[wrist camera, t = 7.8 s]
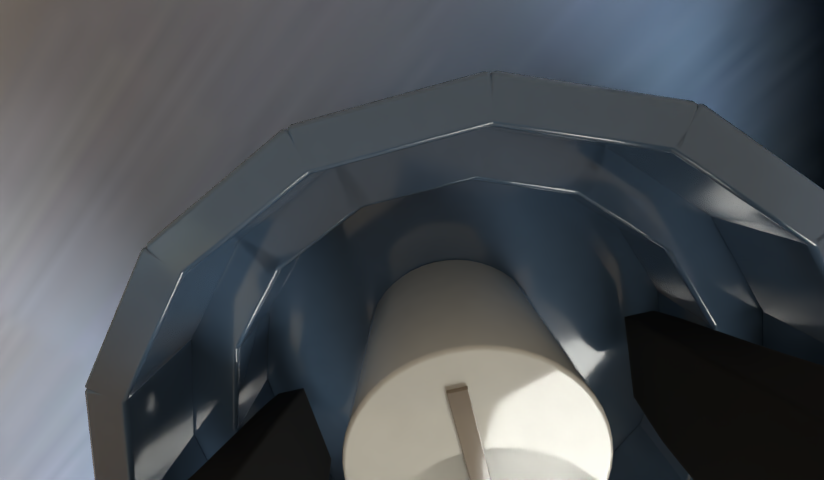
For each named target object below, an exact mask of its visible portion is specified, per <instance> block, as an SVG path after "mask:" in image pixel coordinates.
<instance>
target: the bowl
mask: <svg viewBox="0 0 824 480" xmlns="http://www.w3.org/2000/svg"><path fill="white" fill-rule="evenodd" d="M444 260H468V261H474V262H479V263H482V264H485V265H488V266H491V267H493V268H495V269H497V270H499V271H502V272H503V273H505V274H506V275H508V276H509V277H511V278H512V279H513V280H514V281H515V282H516V283H517V284H518V285H520V287H521V288H522V289H523V290H524V291H525V293H526V294H527V295H528V297H529V298H530V300H531V301H532V303H533V304H534V306H535V307H536V309H537V310H538V312H539V313H540V314H541V316H542V317H543V319H544V320H545V322H546V323H547V325H548V326H549V328H550V329H551V331H552V332H553V333H554V335H555V336H556V338H557V339H558V341H559V342H560V344H561V345H562V347H563V348H564V350H565V351H566V353H567V354H568V355H569V357H570V358H571V360H572V361H573V363H574V364H575V366H576V367H577V369H578V370H579V372H580V373H581V375H582V376H583V377H584V379H585V380H586V382H587V383H588V385H589V386H590V388H591V389H592V391H593V392H594V394H595V395H596V397H597V398H598V400H599V402H600V403H601V405H602V406H603V408H604V411H605V413H606V416H607V418H608V420H609V424H610V428H611V433H612V439H613V461H612V468H611V472H610V476H609V479H608V480H693V479H692V477H691V476H690V475H689V474H688V473H687V471H686V470H685V469H684V468H683V466H682V465H681V464H680V463H679V461H678V460H677V459H676V458H675V456H674V455H673V454H672V453H671V452H670V450H669V449H668V448H667V446H666V445H665V444H664V443H663V441H662V440H661V438H660V437H659V435H658V434H657V432H656V431H655V429H654V428H653V426H652V425H651V423H650V422H649V420H648V419H647V417H646V415H645V414H644V412H643V411H642V409H641V407H640V406H639V404H638V403H637V401H636V400H635V398H634V395H633V387H632V378H631V370H630V361H629V352H628V344H627V335H626V327H625V318H624V317H627V316H631V315H636V314H640V313H645V312H649V311H657V312H661V313H665V314H668V315H671V316H675V317H678V318H681V319H684V320H687V321H690V322H693V323H696V324H699V325H702V326H705V327H707V328H710V329H713V330H716V331H719V332H722V333H725V334H728V335H731V336H734V337H737V338H740V339H743V340H745V341H748V342H751V343H754V344H757V345H760V346H763V347H766V348H769V349H772V350H776V351H779V352H782V353H785V354H788V355H791V356H794V357H797V358H801V359H804V360H807V361H810V362H813V363H817V364H820V365H823V366H824V189H822V188H821V187H819V186H818V185H817V184H815V183H814V182H812V181H811V180H809V179H808V178H807V177H805V176H804V175H802V174H801V173H800V172H798V171H797V170H795V169H794V168H793V167H791V166H790V165H788V164H787V163H786V162H784V161H783V160H781V159H780V158H778V157H777V156H776V155H774V154H773V153H771V152H770V151H769V150H767V149H766V148H764V147H763V146H762V145H760V144H759V143H757V142H756V141H755V140H753V139H752V138H750V137H749V136H747V135H746V134H745V133H743V132H742V131H740V130H739V129H738V128H736V127H735V126H733V125H732V124H731V123H729V122H728V121H726V120H725V119H724V118H722V117H721V116H719V115H718V114H716V113H715V112H714V111H712V110H711V109H709V108H708V107H707V106H705V105H704V104H697V103H695V102H693V101H690V100H684V99H677V98H671V97H664V96H657V95H651V94H644V93H638V92H631V91H625V90H618V89H612V88H605V87H599V86H592V85H586V84H579V83H573V82H566V81H560V80H553V79H547V78H540V77H534V76H527V75H521V74H514V73H508V72H501V71H494V72H491V73H489V72H485V71H484V72H480V73H477V74H473V75H469V76H466V77H462V78H458V79H455V80H451V81H447V82H444V83H440V84H437V85H433V86H429V87H426V88H422V89H418V90H415V91H411V92H408V93H404V94H400V95H397V96H393V97H389V98H386V99H382V100H379V101H375V102H371V103H368V104H364V105H360V106H357V107H353V108H349V109H346V110H342V111H339V112H335V113H331V114H328V115H324V116H320V117H317V118H313V119H310V120H306V121H302V122H299V123H295V124H291V125H290V126H289V127H288V129H283V130H281V131H279V132H278V133H277V134H276V135H275V136H273V137H272V138H271V139H270V140H269V141H268V142H266V143H265V144H264V145H263V146H262V147H260V148H259V149H258V150H257V151H256V152H254V153H253V154H252V155H251V156H250V157H249V158H247V159H246V160H245V161H244V162H243V163H241V164H240V165H239V166H238V167H237V168H235V169H234V170H233V171H232V172H231V173H230V174H228V175H227V176H226V177H225V178H224V179H222V180H221V181H220V182H219V183H218V184H217V185H215V186H214V187H213V188H212V189H211V190H209V191H208V192H207V193H206V194H205V195H203V196H202V197H201V198H200V199H199V200H198V201H196V202H195V203H194V204H193V205H192V206H190V207H189V208H188V209H187V210H186V211H184V212H183V213H182V214H181V215H180V216H179V217H177V218H176V219H175V220H174V221H173V222H171V223H170V224H169V225H168V226H167V227H166V228H164V229H163V230H162V231H161V232H160V233H158V234H157V235H156V236H155V237H154V238H152V239H151V240H150V241H149V242H148V243H147V245H146V247H144V248H143V249H142V250H141V252H140V255H139V257H138V259H137V262H136V264H135V267H134V269H133V272H132V274H131V276H130V279H129V281H128V284H127V286H126V288H125V291H124V293H123V296H122V298H121V301H120V303H119V305H118V308H117V310H116V313H115V315H114V318H113V320H112V322H111V325H110V327H109V330H108V332H107V334H106V337H105V339H104V342H103V344H102V347H101V349H100V351H99V354H98V356H97V359H96V361H95V363H94V366H93V368H92V371H91V373H90V376H89V378H88V380H87V383H86V385H85V387H86V388H87V389H86V391H85V395H86V404H87V413H88V422H89V431H90V440H91V449H92V458H93V467H94V476H95V480H188V479H189V478H190V477H191V476H192V475H193V474H194V473H195V472H196V471H198V470H199V469H200V468H201V467H202V466H203V465H204V464H205V463H206V462H207V461H208V460H209V459H210V458H211V457H212V456H213V455H214V454H215V453H216V452H217V451H218V450H219V449H220V448H221V447H222V446H223V445H224V444H225V443H226V442H227V441H228V440H229V439H230V438H231V437H232V436H233V435H234V434H235V433H236V432H237V431H238V430H240V429H241V428H242V427H243V426H244V425H245V424H246V423H247V422H248V421H249V420H250V419H251V418H252V417H253V416H254V415H255V414H256V413H257V412H258V411H259V410H260V409H261V408H262V407H263V406H264V405H266V404H267V403H268V402H269V401H270V400H271V399H272V398H274V397H275V396H276V395H277V394H279V393H283V392H288V391H292V390H297V389H301V388H304V390H305V393H306V395H307V398H308V401H309V403H310V406H311V408H312V411H313V413H314V416H315V418H316V421H317V424H318V426H319V429H320V431H321V434H322V436H323V439H324V441H325V444H326V447H327V449H328V452H329V454H330V457H331V466H330V475H329V480H345V477H344V472H343V464H342V449H343V442H344V437H345V432H346V428H347V423H348V419H349V414H350V410H351V406H352V401H353V397H354V392H355V388H356V383H357V379H358V375H359V370H360V366H361V361H362V357H363V352H364V348H365V344H366V339H367V335H368V330H369V326H370V321H371V318H372V315H373V312H374V310H375V308H376V306H377V304H378V302H379V300H380V299H381V297H382V296H383V295H384V293H385V292H386V291H387V290H388V289H389V288H390V287H391V286H392V284H393V283H395V282H396V281H397V280H398V279H400V278H401V277H402V276H404V275H405V274H407V273H409V272H410V271H412V270H414V269H417V268H419V267H421V266H424V265H427V264H430V263H433V262H439V261H444Z"/></svg>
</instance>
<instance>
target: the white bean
mask: <svg viewBox="0 0 824 480" xmlns="http://www.w3.org/2000/svg"><path fill="white" fill-rule="evenodd" d="M612 461H613V439H612V433H611V428H610V424H609V420H608V418H607V416H606V413H605V411H604V408H603V406H602V405H601V403H600V402H599V400H598V398H597V397H596V395H595V394H594V392H593V391H592V389H591V388H590V386H589V385H588V383H587V382H586V380H585V379H584V377H583V376H582V375H581V373H580V372H579V370H578V369H577V367H576V366H575V364H574V363H573V361H572V360H571V358H570V357H569V355H568V354H567V353H566V351H565V350H564V348H563V347H562V345H561V344H560V342H559V341H558V339H557V338H556V336H555V335H554V333H553V332H552V331H551V329H550V328H549V326H548V325H547V323H546V322H545V320H544V319H543V317H542V316H541V314H540V313H539V312H538V310H537V309H536V307H535V306H534V304H533V303H532V301H531V300H530V298H529V297H528V295H527V294H526V293H525V291H524V290H523V289H522V288H521V287H520V285H518V284H517V283H516V282H515V281H514V280H513V279H512V278H511V277H509V276H508V275H506V274H505V273H503V272H502V271H499V270H497V269H495V268H493V267H491V266H488V265H485V264H482V263H479V262H474V261H468V260H444V261H439V262H433V263H430V264H427V265H424V266H421V267H419V268H417V269H414V270H412V271H410V272H409V273H407V274H405V275H404V276H402V277H401V278H400V279H398V280H397V281H396V282H395V283H393V284H392V286H391V287H390V288H389V289H388V290H387V291H386V292H385V293H384V295H383V296H382V297H381V299H380V300H379V302H378V304H377V306H376V308H375V310H374V312H373V315H372V318H371V321H370V326H369V330H368V335H367V339H366V344H365V348H364V352H363V357H362V361H361V366H360V370H359V375H358V379H357V383H356V388H355V392H354V397H353V401H352V406H351V410H350V414H349V419H348V423H347V428H346V432H345V437H344V442H343V449H342V464H343V472H344V477H345V480H608V479H609V476H610V472H611V468H612Z"/></svg>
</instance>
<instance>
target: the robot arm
mask: <svg viewBox="0 0 824 480" xmlns="http://www.w3.org/2000/svg"><path fill="white" fill-rule="evenodd" d="M624 318H625V327H626V335H627V344H628V352H629V361H630V370H631V378H632V387H633V395H634V398H635V400H636V401H637V403H638V404H639V406H640V407H641V409H642V411H643V412H644V414H645V415H646V417H647V419H648V420H649V422H650V423H651V425H652V426H653V428H654V429H655V431H656V432H657V434H658V435H659V437H660V438H661V440H662V441H663V443H664V444H665V445H666V446H667V448H668V449H669V450H670V452H671V453H672V454H673V455H674V456H675V458H676V459H677V460H678V461H679V463H680V464H681V465H682V466H683V468H684V469H685V470H686V471H687V473H688V474H689V475H690V476H691V477H692V479H693V480H824V366H823V365H820V364H817V363H813V362H810V361H807V360H804V359H801V358H797V357H794V356H791V355H788V354H785V353H782V352H779V351H776V350H772V349H769V348H766V347H763V346H760V345H757V344H754V343H751V342H748V341H745V340H743V339H740V338H737V337H734V336H731V335H728V334H725V333H722V332H719V331H716V330H713V329H710V328H707V327H705V326H702V325H699V324H696V323H693V322H690V321H687V320H684V319H681V318H678V317H675V316H671V315H668V314H665V313H661V312H657V311H649V312H645V313H640V314H636V315H631V316H627V317H624ZM330 466H331V457H330V454H329V452H328V449H327V447H326V444H325V441H324V439H323V436H322V434H321V431H320V429H319V426H318V424H317V421H316V418H315V416H314V413H313V411H312V408H311V406H310V403H309V401H308V398H307V395H306V393H305V390H304V388H301V389H297V390H292V391H288V392H283V393H279V394H277V395H276V396H275V397H274V398H272V399H271V400H270V401H269V402H268V403H267V404H266V405H264V406H263V407H262V408H261V409H260V410H259V411H258V412H257V413H256V414H255V415H254V416H253V417H252V418H251V419H250V420H249V421H248V422H247V423H246V424H245V425H244V426H243V427H242V428H241V429H240V430H238V431H237V432H236V433H235V434H234V435H233V436H232V437H231V438H230V439H229V440H228V441H227V442H226V443H225V444H224V445H223V446H222V447H221V448H220V449H219V450H218V451H217V452H216V453H215V454H214V455H213V456H212V457H211V458H210V459H209V460H208V461H207V462H206V463H205V464H204V465H203V466H202V467H201V468H200V469H199V470H198V471H196V472H195V473H194V474H193V475H192V476H191V477H190V478H189V479H188V480H329V475H330Z"/></svg>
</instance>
